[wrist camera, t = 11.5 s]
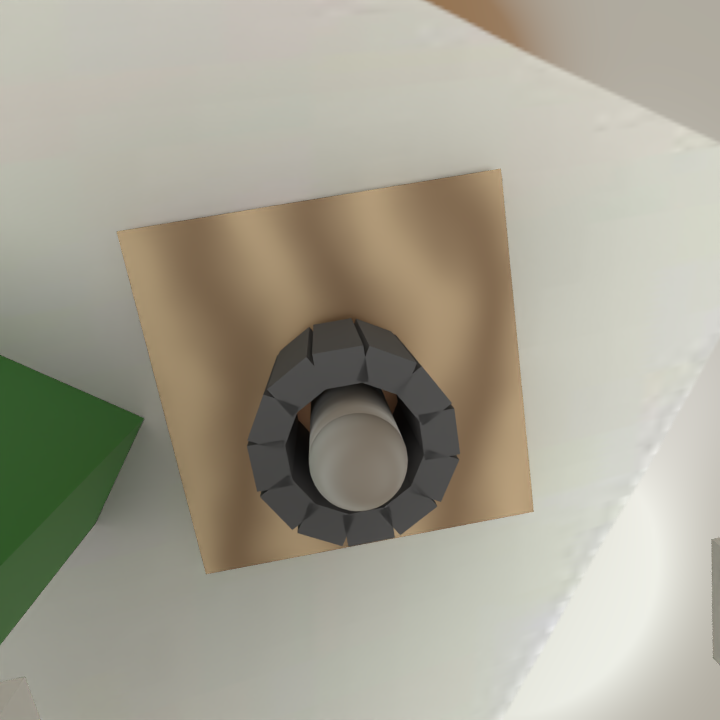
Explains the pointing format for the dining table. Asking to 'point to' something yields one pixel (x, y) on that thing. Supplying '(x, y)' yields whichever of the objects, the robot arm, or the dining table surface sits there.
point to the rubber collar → (291, 439)
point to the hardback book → (50, 477)
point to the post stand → (326, 304)
